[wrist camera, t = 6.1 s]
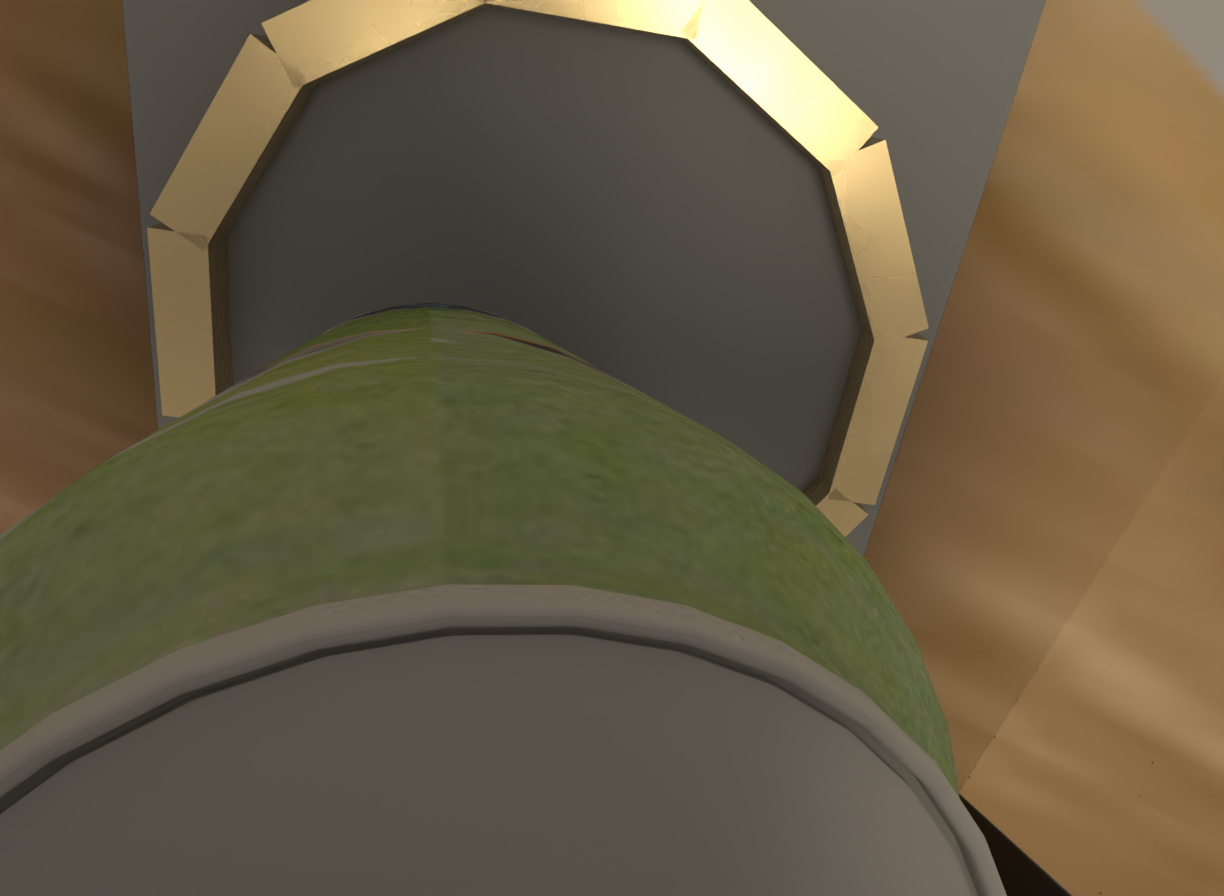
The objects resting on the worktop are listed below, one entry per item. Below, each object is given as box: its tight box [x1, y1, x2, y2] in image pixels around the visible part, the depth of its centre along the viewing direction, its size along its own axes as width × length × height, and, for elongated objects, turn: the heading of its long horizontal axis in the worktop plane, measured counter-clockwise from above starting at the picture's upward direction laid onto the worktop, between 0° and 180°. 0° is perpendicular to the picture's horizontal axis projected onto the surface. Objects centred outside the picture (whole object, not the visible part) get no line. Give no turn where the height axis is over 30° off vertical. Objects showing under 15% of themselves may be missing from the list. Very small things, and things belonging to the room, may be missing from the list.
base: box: [122, 0, 1046, 556], centre depth 16 cm, size 26×15×1 cm, turn 171°
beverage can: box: [0, 302, 1007, 896], centre depth 9 cm, size 6×7×12 cm
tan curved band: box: [147, 0, 929, 537], centre depth 15 cm, size 23×14×3 cm, turn 171°
